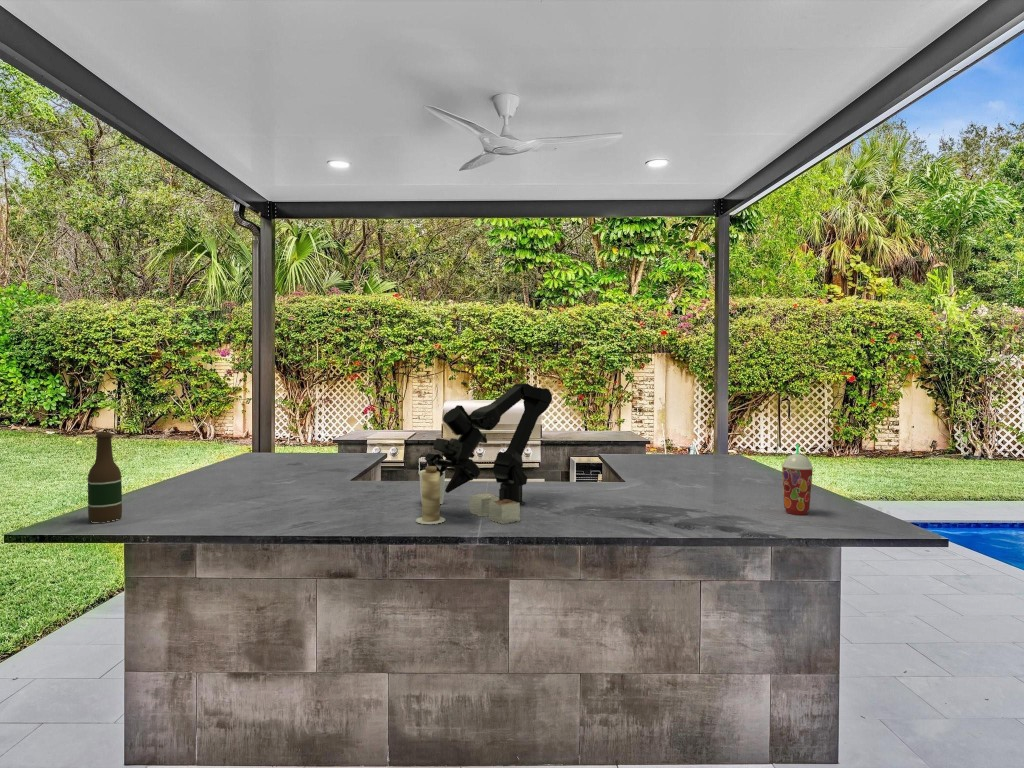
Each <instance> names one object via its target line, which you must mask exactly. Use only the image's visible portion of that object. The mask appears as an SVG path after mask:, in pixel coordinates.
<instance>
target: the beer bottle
mask: <svg viewBox="0 0 1024 768" xmlns="http://www.w3.org/2000/svg"><path fill="white" fill-rule="evenodd" d="M112 437H113V434H112V432H107V431H104V432H98V433H96V435H95V438H96V452H95V461H94V463H93V465H92V467H91V468H90V470H89V472H88V475H87V516H88V517H87V518H88V521H89V520H90V521H92V522H107V521H112V520H116V519H119V518H121V517H122V516H123V495H122V494H123V493H122V492H123V491H122V490H123V489H122V473H121V469H120V468H119V466H118V465H117V464H116V462H115V461H114V455H113V446H112ZM121 519H122V518H121Z"/></svg>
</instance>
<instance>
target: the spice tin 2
mask: <svg viewBox="0 0 1024 768" xmlns="http://www.w3.org/2000/svg"><path fill="white" fill-rule="evenodd" d="M520 505H521V504H520V503H518V502H515V501H512V500H508V499H504V500H498V501H491V502H489V516H488V520H489V519H490V520H489V521H491V520H492V521H491V522H494V521H495V523H497V522H498V523H497V524H500V523H501V524H500V525H504V524H503V523H506V524H510V523H509V522H511V523H516V522H515V521H517V522H520V519H521V518H520V517H521V516H520V514H521V513H520V512H521V511H520V509H521V507H520Z"/></svg>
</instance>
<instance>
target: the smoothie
mask: <svg viewBox="0 0 1024 768" xmlns="http://www.w3.org/2000/svg"><path fill="white" fill-rule="evenodd" d="M795 446H796V451H795V453H793V454H790V455H789V456H788V455H787V457H786V458H785V460H784V461H783V463H782V464H781V471H782V472H781V473H782V492H783V493H782V494H783V507H784V509H785V512H786V513H787V514H790V515H795V516H803V515H807V514H808V513H809V512H808V511H809V510H810V508H811V507H810V506H811V498H812V497H811V495H812V494H811V493H812V484H813V483H812V481H813V472H814V471H813V470H814V466H813V465H812V463H811V461H810V459H809V458H808V457H807V456H805V455H803V454H800V453H799V452H800V451H799V450H800V445H799V444H796V445H795Z"/></svg>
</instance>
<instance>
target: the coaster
mask: <svg viewBox="0 0 1024 768" xmlns="http://www.w3.org/2000/svg"><path fill="white" fill-rule="evenodd" d="M444 521H445V522H446V518H444V517H443V516H440V520H439V521H434V522H426V521H423V520H422V516H421V517H418V518H416V519H415V523H416V522H418V523H421V524H420V525H423V524H435V525H439V524H438V523H441V524H443V523H442V522H444ZM445 522H444V523H445ZM418 523H417V524H418Z"/></svg>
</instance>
